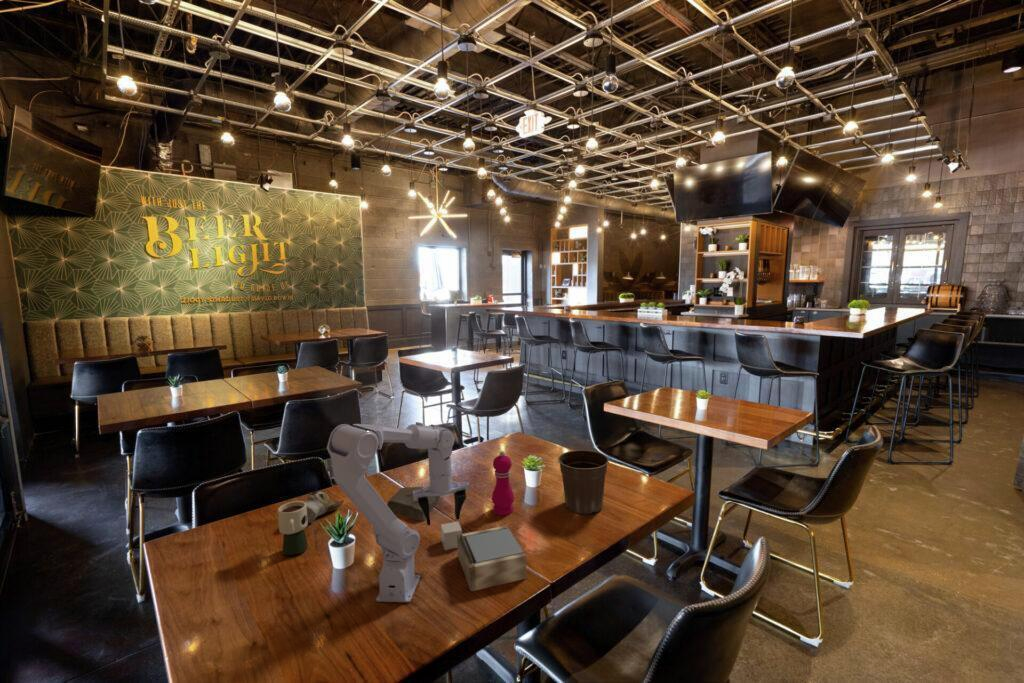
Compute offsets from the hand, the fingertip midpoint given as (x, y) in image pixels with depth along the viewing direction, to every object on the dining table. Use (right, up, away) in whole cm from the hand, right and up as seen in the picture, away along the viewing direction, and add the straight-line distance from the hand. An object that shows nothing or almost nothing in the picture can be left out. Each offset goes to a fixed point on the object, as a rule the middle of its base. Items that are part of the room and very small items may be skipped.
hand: (443, 520), depth 119 cm
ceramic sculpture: (-44, -9, +25) cm, 52 cm away
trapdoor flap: (+14, -6, -4) cm, 15 cm away
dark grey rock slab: (-14, -8, +30) cm, 34 cm away
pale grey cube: (+1, -10, +8) cm, 12 cm away
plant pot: (+42, -7, +28) cm, 51 cm away
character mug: (-42, -11, +5) cm, 44 cm away
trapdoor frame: (+14, -11, -3) cm, 18 cm away
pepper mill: (+16, -7, +26) cm, 31 cm away
